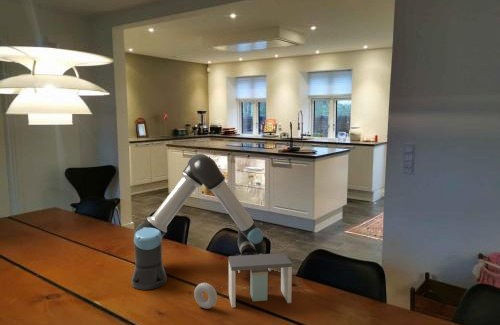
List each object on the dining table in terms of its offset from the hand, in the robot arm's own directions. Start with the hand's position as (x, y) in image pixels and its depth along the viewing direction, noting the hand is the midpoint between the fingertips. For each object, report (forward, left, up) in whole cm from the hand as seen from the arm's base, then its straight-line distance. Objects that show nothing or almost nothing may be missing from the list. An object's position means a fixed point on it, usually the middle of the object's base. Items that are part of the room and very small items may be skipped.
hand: (254, 269), depth 158 cm
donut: (-22, -15, -8) cm, 28 cm away
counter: (0, -11, -8) cm, 14 cm away
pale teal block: (0, -10, -8) cm, 13 cm away
